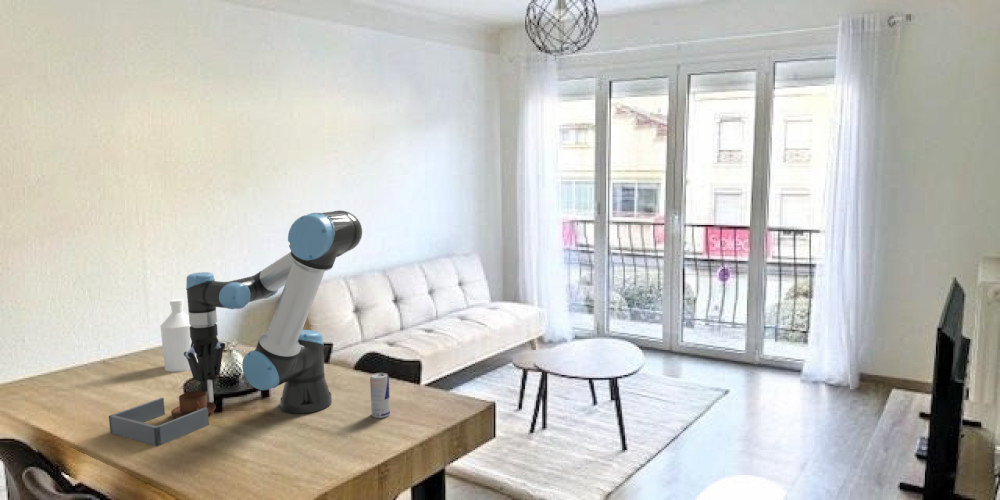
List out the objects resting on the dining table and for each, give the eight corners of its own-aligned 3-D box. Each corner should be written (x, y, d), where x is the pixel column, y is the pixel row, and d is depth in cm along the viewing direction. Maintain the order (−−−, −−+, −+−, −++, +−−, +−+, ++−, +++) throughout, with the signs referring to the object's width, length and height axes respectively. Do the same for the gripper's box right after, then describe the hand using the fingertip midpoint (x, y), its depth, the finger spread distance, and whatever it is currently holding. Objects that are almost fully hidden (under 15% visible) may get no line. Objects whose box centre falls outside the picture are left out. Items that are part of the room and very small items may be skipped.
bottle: (157, 368, 243) (151, 301, 240) (187, 360, 253) (182, 295, 250) (175, 373, 237) (170, 304, 233) (206, 365, 246) (201, 299, 243)
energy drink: (393, 412, 197) (391, 373, 195) (385, 419, 192) (383, 378, 190) (376, 410, 198) (375, 371, 197) (368, 417, 193) (366, 377, 191)
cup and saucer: (225, 412, 199) (223, 392, 198) (189, 425, 189) (187, 405, 188) (198, 405, 205) (197, 386, 204) (162, 418, 195) (161, 398, 194)
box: (208, 424, 189) (207, 407, 189) (157, 446, 175) (156, 428, 175) (162, 413, 198) (161, 397, 198) (110, 433, 184) (108, 415, 184)
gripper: (213, 318, 206) (218, 392, 209) (175, 328, 194) (181, 405, 197) (230, 321, 202) (234, 395, 205) (192, 331, 191) (198, 410, 194)
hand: (208, 400), depth 201 cm, fingers closed
